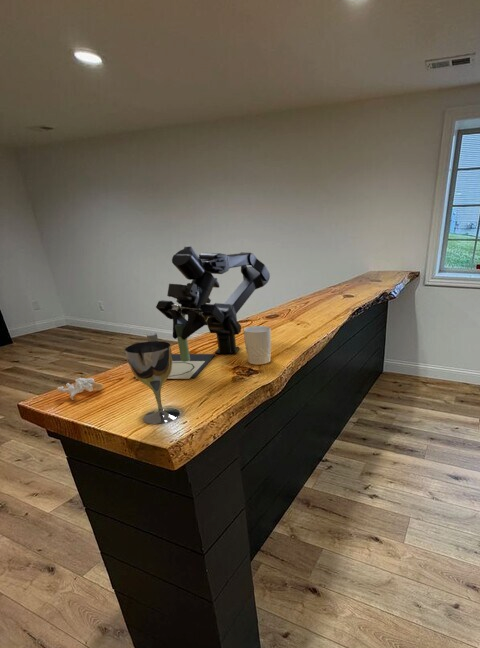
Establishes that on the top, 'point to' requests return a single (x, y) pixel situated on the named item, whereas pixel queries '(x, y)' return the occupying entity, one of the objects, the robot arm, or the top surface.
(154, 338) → the cylinder
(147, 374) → the wine glass
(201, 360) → the sketch pad
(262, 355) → the white cup
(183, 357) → the sage-green marker
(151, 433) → the top surface
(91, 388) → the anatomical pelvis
